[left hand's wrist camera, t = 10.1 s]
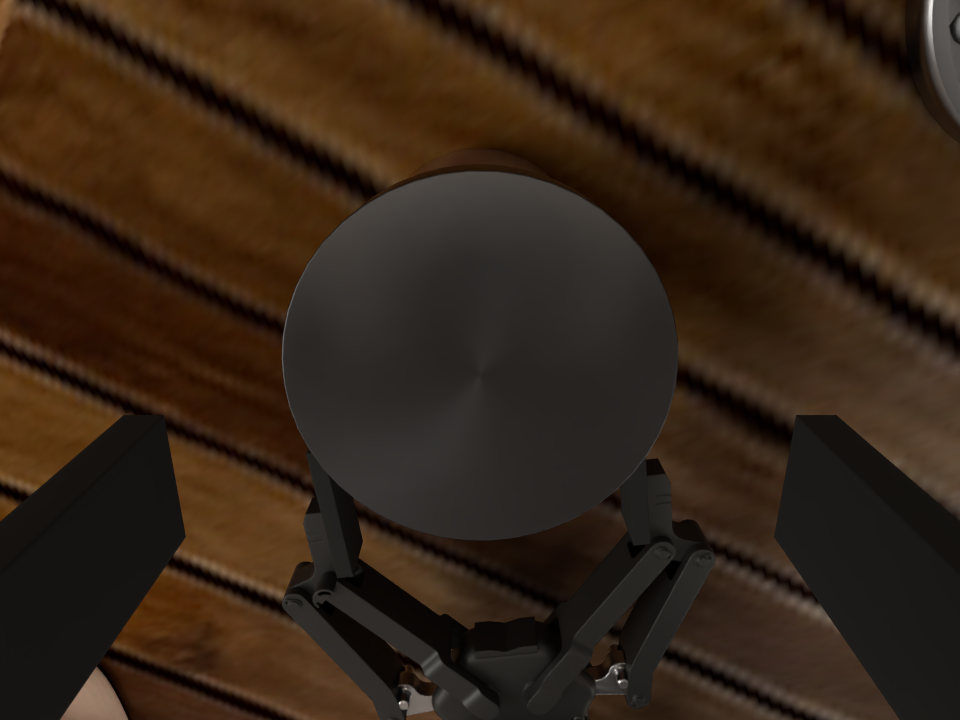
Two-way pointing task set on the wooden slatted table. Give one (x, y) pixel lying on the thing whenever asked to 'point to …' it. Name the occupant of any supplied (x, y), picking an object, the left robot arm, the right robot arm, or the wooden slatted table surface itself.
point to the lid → (480, 353)
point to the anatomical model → (95, 701)
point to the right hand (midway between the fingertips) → (472, 418)
